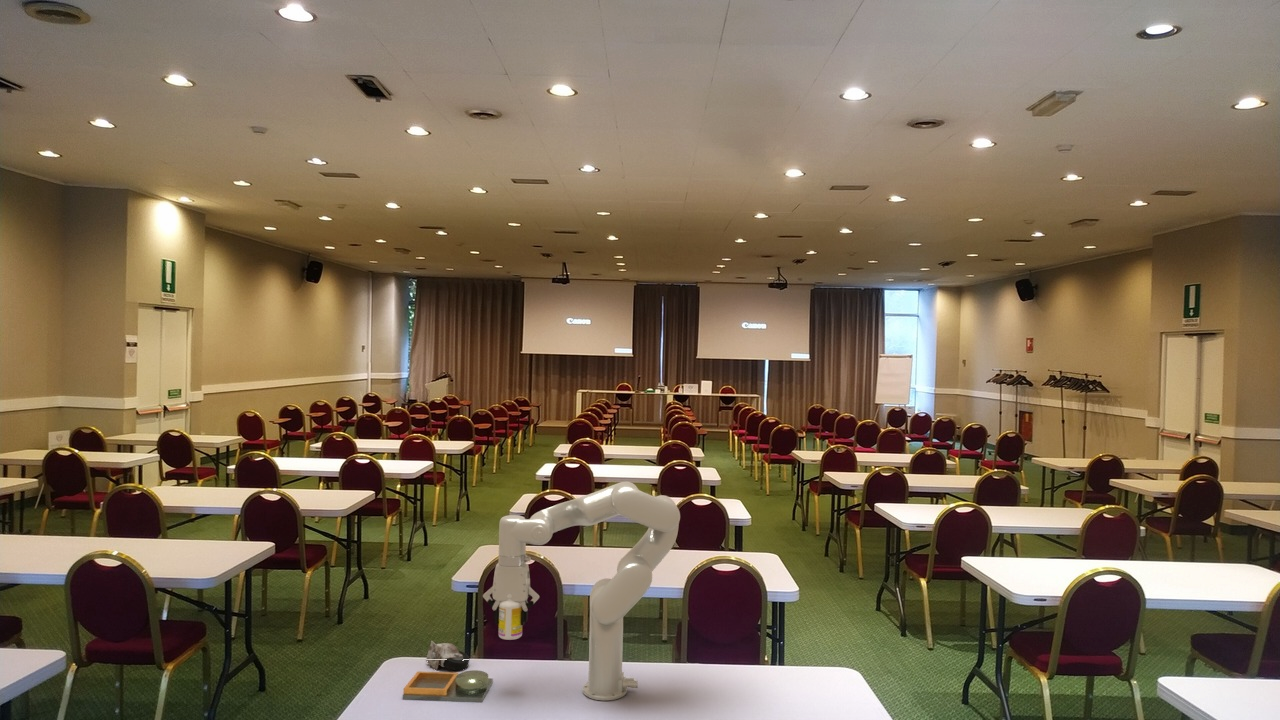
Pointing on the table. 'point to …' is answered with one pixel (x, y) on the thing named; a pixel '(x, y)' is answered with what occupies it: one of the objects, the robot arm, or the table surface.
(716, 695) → the table surface
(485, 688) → the grey base plate
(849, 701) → the table surface
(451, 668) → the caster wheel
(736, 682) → the table surface
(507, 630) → the supplement bottle
